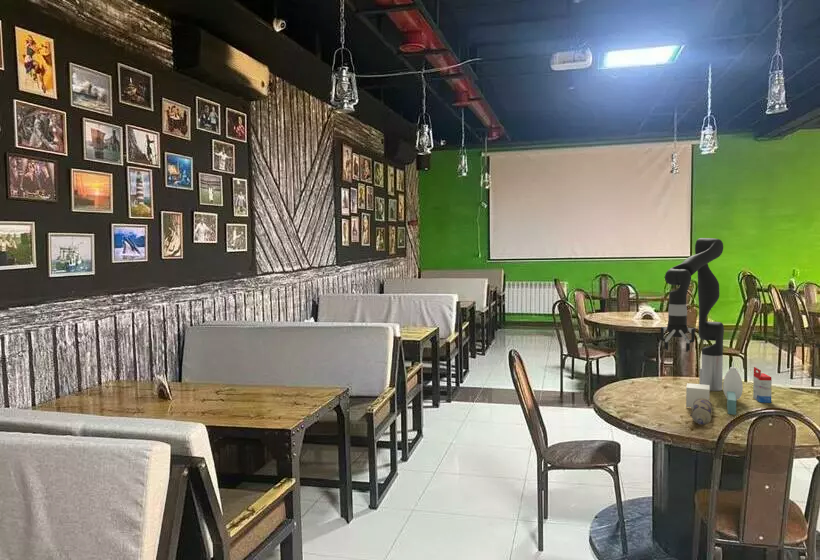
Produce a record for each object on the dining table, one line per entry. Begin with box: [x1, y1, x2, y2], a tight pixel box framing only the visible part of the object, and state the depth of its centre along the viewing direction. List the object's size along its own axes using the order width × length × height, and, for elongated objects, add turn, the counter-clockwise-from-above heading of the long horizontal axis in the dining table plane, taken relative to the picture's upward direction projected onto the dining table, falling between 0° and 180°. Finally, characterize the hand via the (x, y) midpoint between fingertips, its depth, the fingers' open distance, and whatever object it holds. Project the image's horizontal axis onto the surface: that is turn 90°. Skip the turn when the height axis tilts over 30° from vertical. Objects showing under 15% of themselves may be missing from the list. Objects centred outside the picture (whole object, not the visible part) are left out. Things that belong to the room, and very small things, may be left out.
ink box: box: [752, 366, 773, 404], centre depth 265 cm, size 8×5×15 cm, turn 168°
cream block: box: [685, 382, 711, 409], centre depth 257 cm, size 9×9×9 cm
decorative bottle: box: [689, 398, 714, 425], centre depth 235 cm, size 26×8×7 cm, turn 150°
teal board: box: [726, 391, 737, 416], centre depth 251 cm, size 3×16×6 cm, turn 153°
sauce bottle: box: [722, 361, 744, 402], centre depth 264 cm, size 8×8×18 cm
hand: (677, 350), depth 260 cm, fingers open, 7 cm apart
